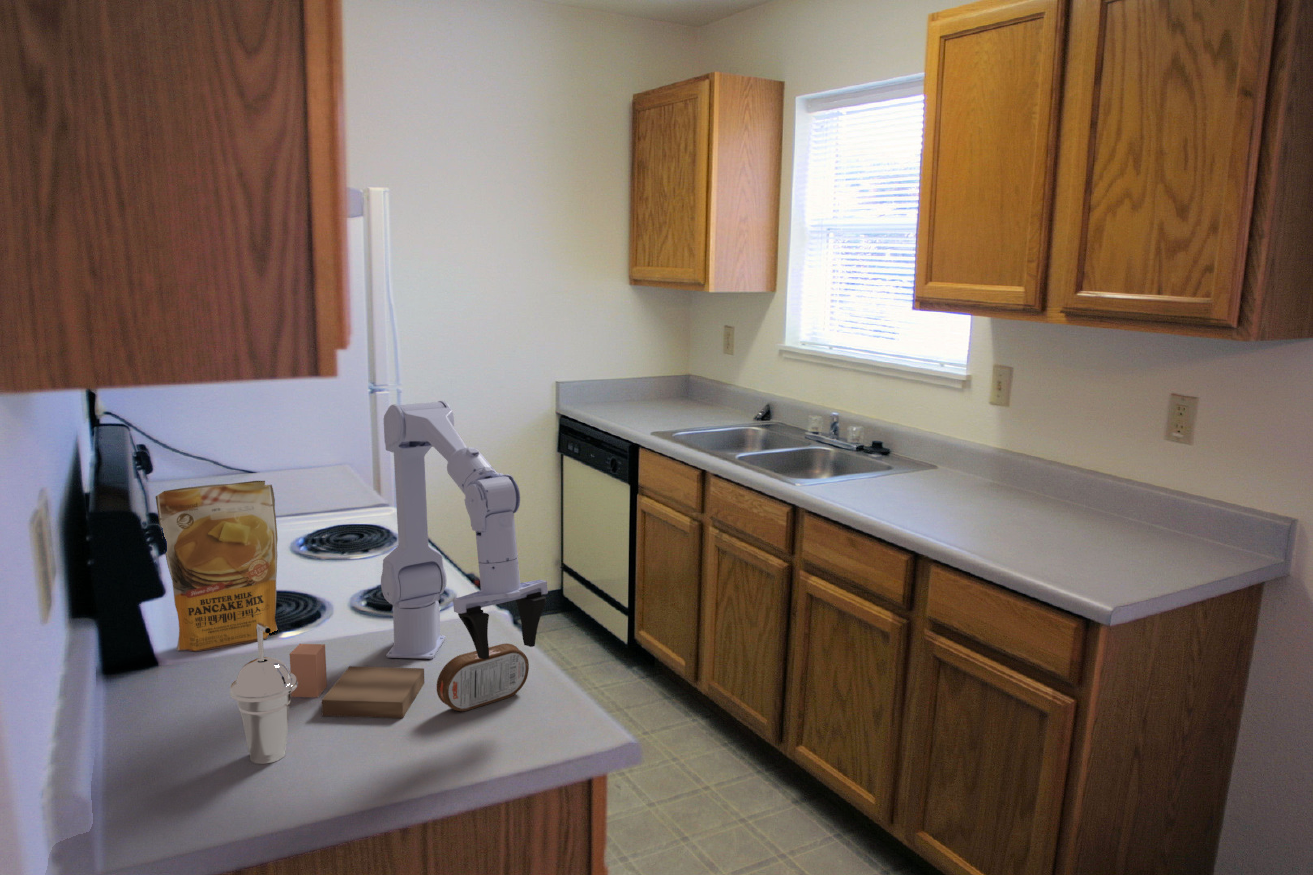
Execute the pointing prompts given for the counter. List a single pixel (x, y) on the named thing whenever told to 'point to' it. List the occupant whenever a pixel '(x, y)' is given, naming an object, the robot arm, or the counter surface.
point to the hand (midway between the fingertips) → (506, 651)
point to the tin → (482, 677)
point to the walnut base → (373, 692)
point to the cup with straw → (264, 703)
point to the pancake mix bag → (221, 561)
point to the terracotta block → (309, 669)
